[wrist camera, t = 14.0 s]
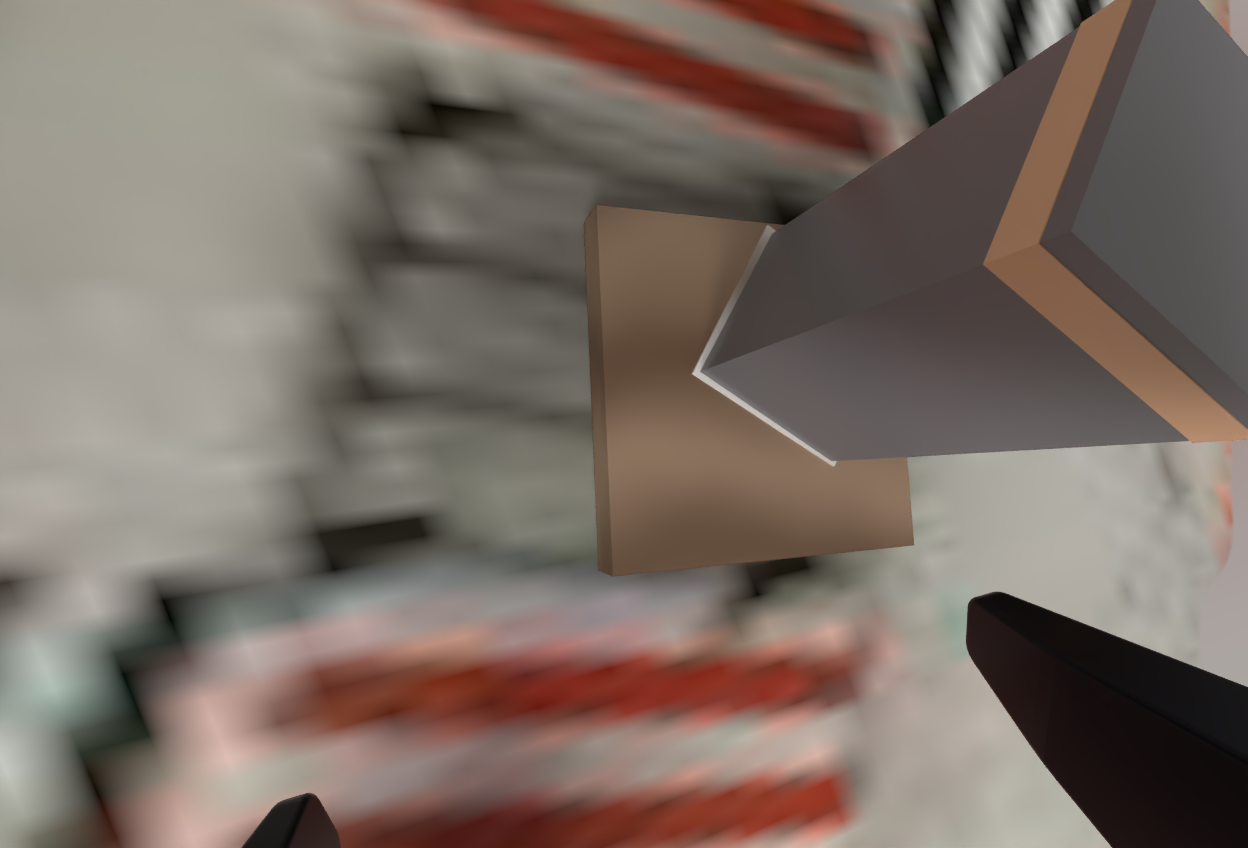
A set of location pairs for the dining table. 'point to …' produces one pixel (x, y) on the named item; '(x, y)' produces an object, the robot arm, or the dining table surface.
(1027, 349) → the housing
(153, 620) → the dining table surface
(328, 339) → the dining table surface
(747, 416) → the board
